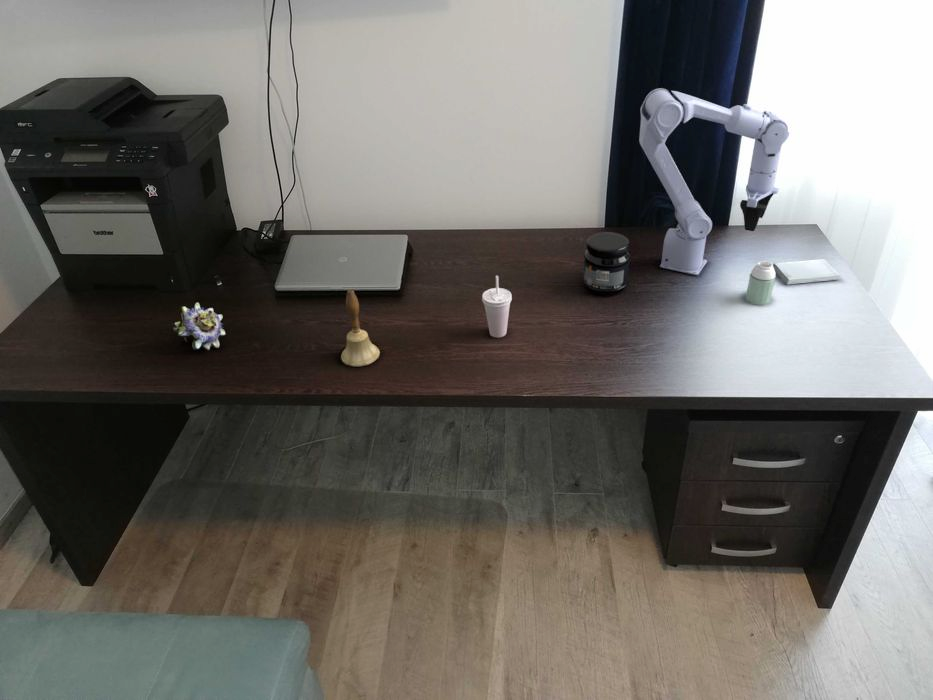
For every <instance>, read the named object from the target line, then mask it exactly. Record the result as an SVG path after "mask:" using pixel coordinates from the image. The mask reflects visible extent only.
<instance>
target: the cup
mask: <svg viewBox="0 0 933 700" xmlns="http://www.w3.org/2000/svg"><path fill="white" fill-rule="evenodd" d="M775 281H776V276H775V277H774V278H773V279H770V280H760V279H757V278H755V277H753V276H752V274H751V273H750V274H749V278H748V281H747V282H748V283H747V287H746V293H745V300H746V301H747V302H748V303H750V304H752V305H756V306H764V305H768V304H769V303H770V302H771V298H772V294H773V289H774V286H775Z"/></svg>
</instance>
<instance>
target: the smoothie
mask: <svg viewBox="0 0 933 700" xmlns="http://www.w3.org/2000/svg"><path fill="white" fill-rule="evenodd" d="M499 285H500V283H499V275H495V287H494V288H493V287H492V288H489V289H486V290H485V291H483V292H482V295H481V301H482V303H483V306H484V311H485V316H486V322H487V327H488V331H489V335H490V336H491V337H493V338H503V337H505V336H506V335H507V331H508V324H509V323H508V322H509V316H510V315H509V314H510V306H511V302H512V300H513V297H512V296H513V295H512V292H511V291H510V290H508V289H506V288H502V287H499Z"/></svg>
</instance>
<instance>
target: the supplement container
mask: <svg viewBox="0 0 933 700" xmlns="http://www.w3.org/2000/svg"><path fill="white" fill-rule="evenodd" d="M629 249H630V241H629V239H628V238H627V237H626V235H625V236H624V235H623V234H621V233H617V232H612V231H603V232H597V233H594V234H592V235H590V236H589V237H588V238H587V240H586V249H585V251H584V253H583V259H584V261H583V265H584V267H583V278H582V283H583V286H584V288H585V289H586V290H587V291H589V292H590V293H592V294H595V295H599V296H615V295H617V294H620V293H622V292H624V291H625V290H626V288H627V286H628V282H629V281H628V279H629V269H630V268H629V267H630V259H631V253H630V251H629Z"/></svg>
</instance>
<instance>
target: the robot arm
mask: <svg viewBox="0 0 933 700" xmlns="http://www.w3.org/2000/svg"><path fill="white" fill-rule="evenodd" d="M670 91H671V92H670ZM670 91H669V90H668V89H666V88H663V87H661V88H659V87H658V88H655V89H653V90H651V91H650V92H649V93H648V94H647V95H646V96H645V98H644V101H643V102H642V104H641V106H640V127H639V136H638V137H639V138H638V140H639V141H638V143H639V145H640V146H641V148H642V150H643V152H644V154H645V155H646V157H647V159H648V161H649V162H650V164H651V166H652V169H653V170H654V172H655V173H656V175H657V177H658V179H659V181H660V183H661V185H662V186H663V188H664V190H665V192H666V194H667V196H668V197H669V199H670V200H671V202H672V203H671V204H672V206H673V207H674V217H675V219H676V221H677V223H678V224H677V226H676V228H674V227H673V228H672V227H671V228H668V229H667V231H666V234H665V236H664V239H663V247H662V252H661V253H662V254H661V262H660V264H659V268H662V269H666V270H671V271H674V272H680V273H684V274H689V275H693V276H699V275H700V273H701V272H702V270H703V269H704V268H705V266H706V264H707V263H708V260H707V259H705V258H704V255H705V248H706V243H707V242H706V241H707V237H708V235H709V234H710V232H711V231H712V228H713V221H712V220H711V218H710V216H708V215H707V214H706V212H705V211H704V209H703V208H702V206H701V204H700V202H698V201H697V200H696V199H695V198H694V195H692V192H691V191H690V189H689V186H688V185H687V183H686V181H685V179H684V177H683V175H682V173H681V172H680V170H679V168H678V166H677V165H676V162H675V161H674V158H673V156H672V154H671V153H670V150H669V149H668V147H667V146H666V141H667V139H668V137H669V136H670V135H671V134H672V133H673V132H674V130H675V129H676V128H677V127H678V126H679V125H680V123H681V122H682V123H683V124H686V123H687V122H689V120H691V119H692V118H698V119H701V120H704V121H705V120H706V121H709V122H714V123H716V124H717V123H718V124H722V125H723V126H724V128H725V130H726V132H728V133H731V134H735V135H739V136H742V137H745V138H748V139H752V140H754V144H753V149H752V156H751V161H750V167H749V174H748V179H747V184H746V186H745V191H746V195H747V200H746V199H741V201H740V202H739V206H740V209H741V211H742V216H743V225H744V231H749V232H755V230H756V229H757V226H758V223H759V221H760V219H763V217H764V215H765V213H766V211H767V208H768V205H769V203H770V201H771V199H772V197H773V196H774V195H776V194H777V195H778V193H779V191H780V188H779V187H775V182H776V177H777V171H778V166H779V162H780V156H781V150H782V146H783V144H784V143H785V142H786V141H787V140H788V138H789V135H790V131H789V127H788V125H787V123H786V122H785V121H784V120H783V119H782V118H780V117H779V116H778V115H776V114H775V113H773V112H771V111H767V110H764V111H763V112H762V111H759V110H756V109H753V108H752V106H750V105H749V104H746V103H743V105H738V104H736V105H734V106H732V107H730V108H727V107H724V106H722V105H719V104H716V103H713V102H710V101H708V100H704V99H703V98H702V99H701V98H699V97H696V96H693V95H690V94H688V93H687V94H686V93H683V92H680V91H677V90H670Z"/></svg>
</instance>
